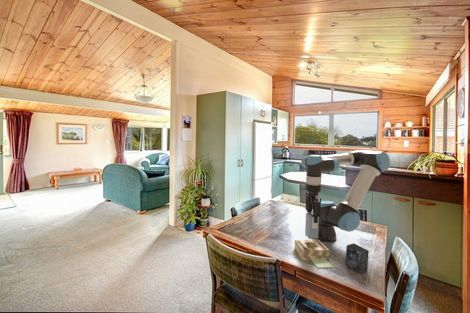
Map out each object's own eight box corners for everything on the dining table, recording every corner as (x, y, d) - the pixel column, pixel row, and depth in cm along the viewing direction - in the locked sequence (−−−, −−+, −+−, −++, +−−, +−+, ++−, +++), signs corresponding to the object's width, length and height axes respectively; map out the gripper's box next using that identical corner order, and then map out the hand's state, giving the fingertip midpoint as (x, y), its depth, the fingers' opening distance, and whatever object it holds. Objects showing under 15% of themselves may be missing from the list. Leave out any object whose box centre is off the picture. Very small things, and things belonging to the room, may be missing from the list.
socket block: (317, 247, 126) (318, 238, 126) (328, 259, 114) (329, 249, 114) (294, 248, 125) (294, 239, 124) (303, 260, 113) (303, 250, 113)
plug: (313, 234, 122) (314, 211, 121) (318, 238, 117) (319, 214, 116) (305, 234, 121) (306, 211, 120) (309, 238, 116) (310, 214, 115)
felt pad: (324, 258, 115) (324, 257, 115) (333, 267, 107) (333, 266, 107) (310, 259, 114) (310, 258, 114) (317, 268, 106) (317, 267, 106)
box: (345, 265, 109) (346, 245, 108) (352, 262, 111) (354, 242, 110) (359, 274, 102) (361, 252, 101) (367, 271, 104) (369, 250, 103)
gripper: (299, 180, 125) (298, 220, 127) (314, 187, 107) (313, 233, 109) (312, 180, 126) (311, 219, 128) (329, 187, 108) (327, 232, 110)
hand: (312, 225), depth 119 cm, fingers closed on plug, 5 cm apart
